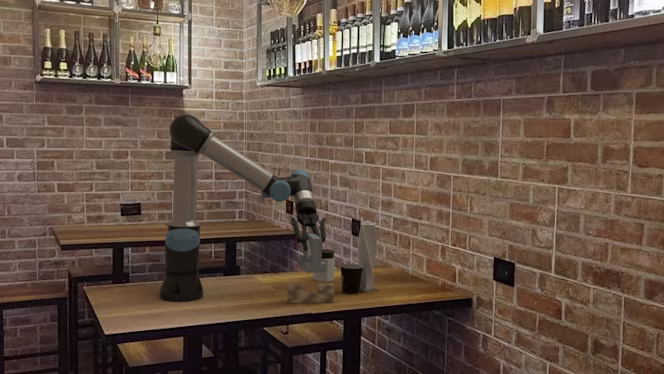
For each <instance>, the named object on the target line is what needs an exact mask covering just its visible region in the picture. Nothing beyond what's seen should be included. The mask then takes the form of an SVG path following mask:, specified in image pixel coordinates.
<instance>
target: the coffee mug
mask: <svg viewBox="0 0 664 374" xmlns="http://www.w3.org/2000/svg"><path fill="white" fill-rule="evenodd" d="M362 271H363V266H362V265H359V264H356V263H355V264H354V263H343V264H341V265H340V275H341V277H340V278H341V288H342V289H341V290H342V293H343V294H346V295H357V294H359V293H360V291H359V290H360V284H361V277H362Z"/></svg>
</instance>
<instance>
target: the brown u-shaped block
mask: <svg viewBox="0 0 664 374" xmlns="http://www.w3.org/2000/svg"><path fill="white" fill-rule="evenodd" d="M317 284H318V286H317V291H310V292H309V291H308V292H304V290H305V289H304V284H301V283H298V284H295V283H294V284H287V302H288V303H289V304H312V303H313V304H314V303H333V302H334V294H335V293H334V292H335V291H334V289H335V285H334V284H333V283H317Z"/></svg>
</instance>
